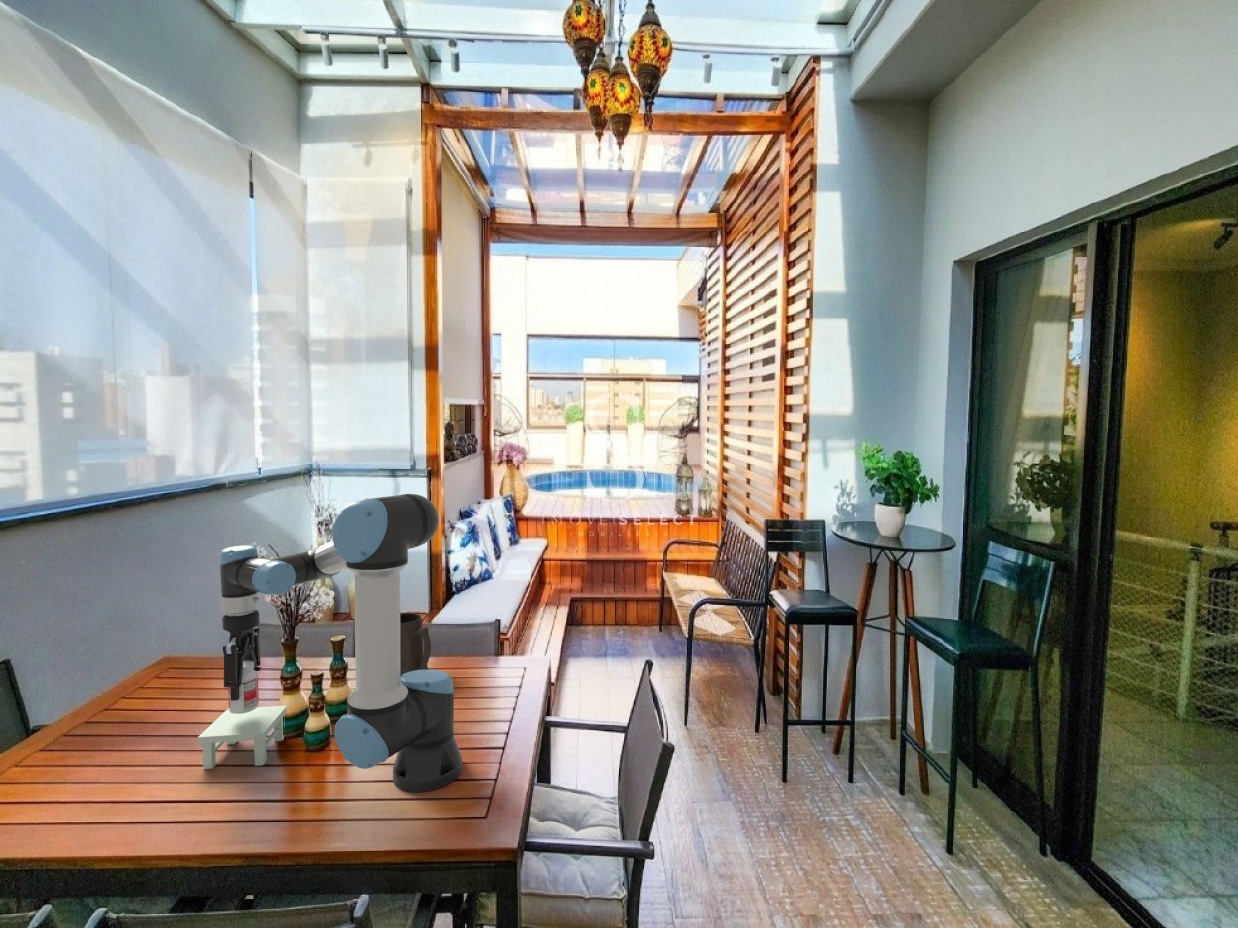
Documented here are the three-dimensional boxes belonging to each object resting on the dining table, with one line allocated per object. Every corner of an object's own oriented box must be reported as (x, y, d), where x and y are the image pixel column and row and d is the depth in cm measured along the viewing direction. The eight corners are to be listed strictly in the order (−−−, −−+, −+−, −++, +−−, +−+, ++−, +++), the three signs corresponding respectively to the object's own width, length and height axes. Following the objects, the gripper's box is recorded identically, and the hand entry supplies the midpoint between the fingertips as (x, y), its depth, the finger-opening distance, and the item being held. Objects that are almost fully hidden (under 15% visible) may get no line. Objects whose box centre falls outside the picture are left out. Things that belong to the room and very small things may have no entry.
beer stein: (378, 683, 187) (380, 619, 186) (400, 669, 198) (402, 609, 196) (421, 693, 183) (424, 628, 181) (441, 678, 193) (444, 617, 191)
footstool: (264, 766, 142) (263, 732, 141) (199, 770, 140) (197, 737, 139) (288, 735, 156) (287, 705, 155) (228, 739, 154) (227, 708, 153)
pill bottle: (237, 703, 150) (235, 659, 149) (263, 702, 151) (262, 658, 150) (223, 715, 144) (222, 669, 143) (251, 714, 144) (249, 668, 144)
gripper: (238, 623, 137) (242, 723, 138) (274, 599, 156) (277, 687, 157) (202, 625, 136) (206, 725, 137) (242, 600, 154) (245, 688, 156)
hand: (244, 704), depth 147 cm, fingers closed on pill bottle, 6 cm apart
